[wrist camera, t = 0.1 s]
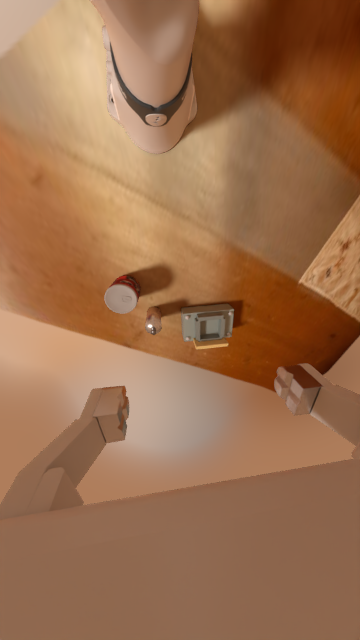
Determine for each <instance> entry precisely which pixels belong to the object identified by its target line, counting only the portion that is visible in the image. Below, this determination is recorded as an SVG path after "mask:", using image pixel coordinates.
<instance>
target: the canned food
mask: <svg viewBox="0 0 360 640" xmlns="http://www.w3.org/2000/svg"><path fill="white" fill-rule="evenodd" d="M140 290H141V289H140V284H139V282H138V281H137V280H136V279H135V278H133V277H131V276H121V277H119V278H117V279H116V280H115V281H114V282H113V284H112V285H111V286H110V287H109V288H108V289H107V291H106V293H105V297H104V299H105V303H106V305H107V307H108V308H109V309H111V310H112V311H114V312H116V313H128V312H130V311H132V310H133V309H134V308H135V307H136V305H137V302H138V299H139V295H140Z"/></svg>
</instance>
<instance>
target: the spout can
mask: <svg viewBox="0 0 360 640" xmlns="http://www.w3.org/2000/svg"><path fill="white" fill-rule="evenodd" d="M145 328H146V331H147V332H148V333H150V334H153V335H155V334H157V333H159V332H160V330H161V311H160V309H159V308H157V307H150V308H149V309H148V311H147V317H146V326H145Z"/></svg>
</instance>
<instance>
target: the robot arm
mask: <svg viewBox="0 0 360 640" xmlns="http://www.w3.org/2000/svg"><path fill="white" fill-rule="evenodd" d="M90 1H91V3H92V4H93V5H94V7H95V8H96V9H97V11H98V12H99V14H100V15H101V17H102V19H103V21H104V24H105V26H103V28H102V31H103V42H104V47H105V49H106V50H107V61H106V65H107V107H108V112H109V114H110V116H111V117H112V118H113V119H114V120H115V121H117V122H118V123H119V124H121V125H122V127H123V128H124V129H125V131H126V133H127V134H128V136H129V137H130V139H131V140H132V141H133V142H134V143H135V144H136V145H137V146H138V147H139V148H141V149H143V150H144V151H147V152H149V153H156V154H157V153H163V152H166V151H168V150H170V149H171V148H173V147H174V146H175V145H176V144H177V142H178V141H179V139H180V138H181V136H182V134H183V132H184V129H185V127H186V126H187V125H188V124H189V123H190V122H191V121H192V120H193V119H194V118H195V116H196V114H197V100H196V93H195V86H194V79H193V72H192V48H193V43H194V37H195V32H196V27H197V22H198V14H199V0H90ZM112 100H113V101H114V103H112ZM277 374H278V375H279V376H278V377H277V378H276V379H275V382H274V385H275V390H276V392H277V393H278V395H279V396H280V397H281V398H283V399H285V400H286V401H285V404H286V405H287V407H288V408H289V409H290V411H291V412H292V413H293V415H302V414H310V415H312V416H313V417H315V418H316V419H318V420H319V421H321V422H322V423H323V424H325V425H326V426H328V427H329V428H331V429H332V430H334V431H335V432H337V433H338V434H339V435H341V436H342V437H344V438H345V439H347V440H348V441H350V442H351V443H353V444H354V445H355V446H356V447H355V449H354V450H353V452H352V457H353V458H354V459H350V460H344V461H339V462H333V463H327V464H322V465H315V466H309V467H303V468H298V469H292V470H286V471H280V472H274V473H269V474H262V475H257V476H251V477H245V478H239V479H234V480H228V481H222V482H216V483H210V484H204V485H199V486H193V487H187V488H181V489H176V490H169V491H164V492H158V493H152V494H146V495H141V496H135V497H129V498H123V499H117V500H112V501H106V502H100V503H94V504H88V505H83V500H82V498H81V496H80V495H79V493H78V492H77V490H76V487H77V485H78V484H79V483H80V481H81V480H82V478H83V477H84V475H85V474H86V472H87V471H88V470H89V468H90V467H91V465H92V464H93V462H94V461H95V460H96V458H97V457H98V455H99V454H100V452H101V451H102V450H103V448H104V446H105V445H106V443H110V442H116V441H122V440H125V435H126V429H127V425H126V420H127V418H128V415H129V400H128V397H126V388H125V386H116V387H106V388H97V389H93V390H92V391H91V392H90V395H89V398H88V400H87V402H86V405H85V407H84V409H83V412H82V414H81V417H80V419H78V420H75V421H74V422H73V423H72V424H71V425H70V426H69V427H68V428H67V429H65V430H64V431H63V432H62V433H61V434H60V435H59V436H58V437H57V438H56V439H54V440H53V441H52V442H51V443H50V444H49V445H48V446H47V447H46V448H45V449H44V450H43V451H41V452H40V453H39V455H37V456H36V457H35V458H34V459H33V460H32V461H31V462H30V463H29V464H27V465H26V466H25V467H24V468H23V469H22V470H21V471H20V472H19V473H18V475H17V477H16V478H15V480H14V482H13V484H12V485H11V487H10V489H9V491H8V492H7V494H6V496H5V497H4V499H3V501H2V503H1V504H0V640H360V395H359V394H357V393H354V392H352V391H350V390H347V389H345V388H343V387H340V386H338V385H333V384H332V383H331V382H330V381H328V380H327V379H326V378H325V377H324V376H323V375H321V374H320V373H319V372H318V371H317V370H316V369H314V368H313V367H312V366H311V365H309V364H307V363H305V364H298V365H290V366H283V367H279V368H278V370H277Z"/></svg>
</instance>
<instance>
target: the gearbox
mask: <svg viewBox="0 0 360 640" xmlns="http://www.w3.org/2000/svg"><path fill="white" fill-rule="evenodd" d="M233 315H234V309H233V308H232V307H231V306H230V305H229V304H218V305H206V306H195V307H183V308H181V316H182V335H183V339H184V342H185V341H194V344H195V347H196V349H205V348H214V347H224V346H228V342H227V341H226V339H225V337H231V336H232V326H233Z"/></svg>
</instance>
